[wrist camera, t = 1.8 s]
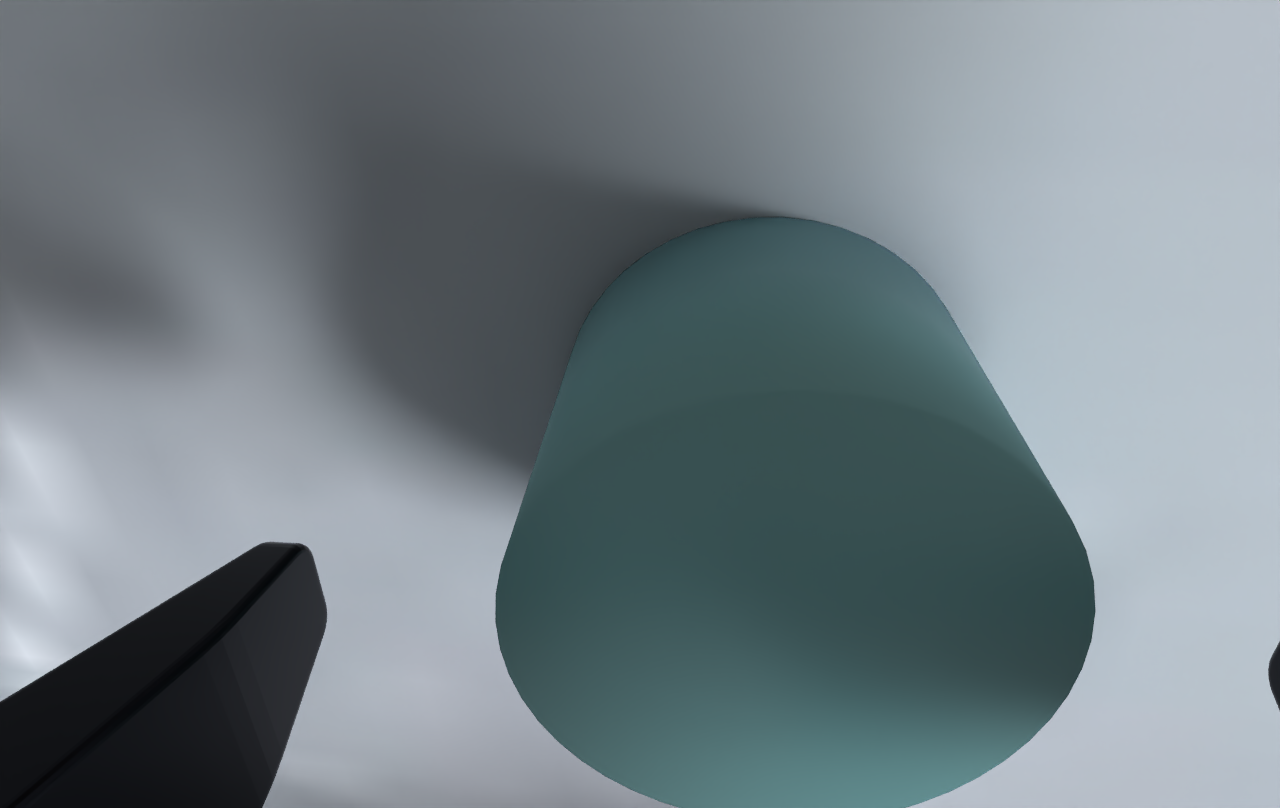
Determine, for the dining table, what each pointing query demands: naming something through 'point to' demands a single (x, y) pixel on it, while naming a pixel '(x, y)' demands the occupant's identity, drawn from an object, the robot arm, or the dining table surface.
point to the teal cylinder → (787, 536)
